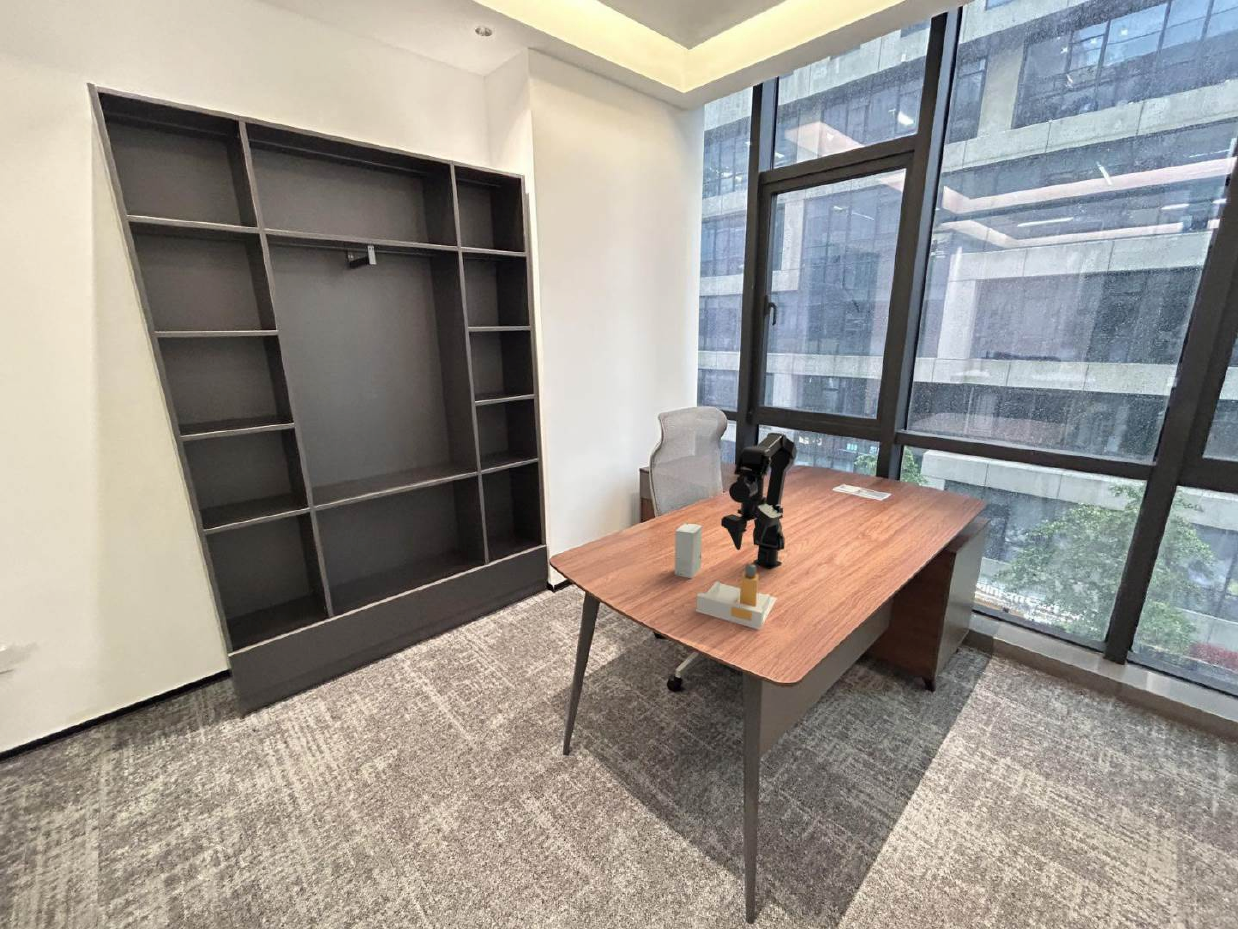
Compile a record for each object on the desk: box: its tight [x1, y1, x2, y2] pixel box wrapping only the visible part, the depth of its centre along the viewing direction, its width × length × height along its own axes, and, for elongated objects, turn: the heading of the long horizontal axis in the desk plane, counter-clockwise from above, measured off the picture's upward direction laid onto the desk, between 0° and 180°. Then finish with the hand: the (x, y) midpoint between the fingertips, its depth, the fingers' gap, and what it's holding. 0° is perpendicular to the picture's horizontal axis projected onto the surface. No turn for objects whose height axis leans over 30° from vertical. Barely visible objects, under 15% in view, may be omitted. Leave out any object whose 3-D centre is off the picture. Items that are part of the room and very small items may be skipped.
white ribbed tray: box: [695, 581, 778, 630], centre depth 135 cm, size 18×17×5 cm
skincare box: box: [674, 522, 703, 579], centre depth 153 cm, size 8×6×15 cm
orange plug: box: [740, 563, 760, 607], centre depth 130 cm, size 4×4×13 cm
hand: (748, 545), depth 142 cm, fingers open, 9 cm apart
